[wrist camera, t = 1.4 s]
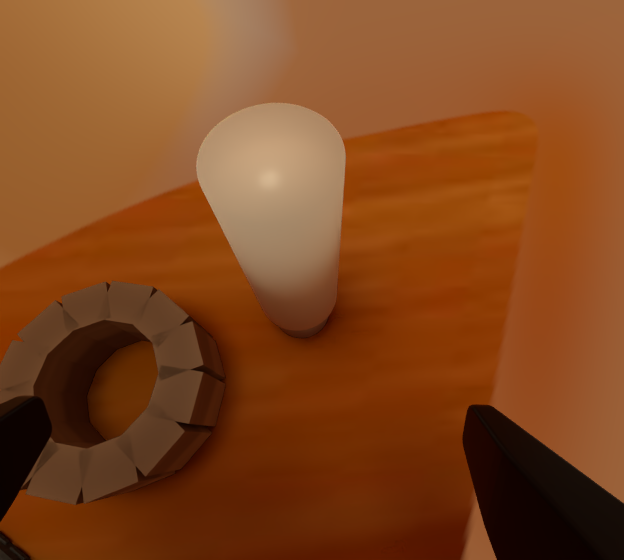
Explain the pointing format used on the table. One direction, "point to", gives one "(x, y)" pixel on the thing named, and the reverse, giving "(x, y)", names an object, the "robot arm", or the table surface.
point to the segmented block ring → (79, 374)
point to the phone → (10, 550)
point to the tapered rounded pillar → (280, 207)
